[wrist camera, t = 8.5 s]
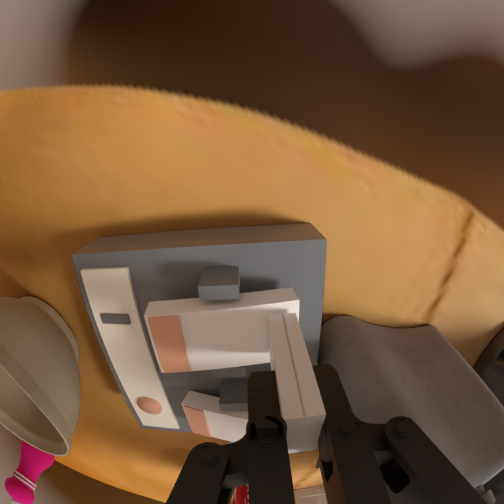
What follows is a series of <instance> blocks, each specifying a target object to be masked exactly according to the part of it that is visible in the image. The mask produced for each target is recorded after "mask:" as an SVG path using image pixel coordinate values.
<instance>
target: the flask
mask: <svg viewBox="0 0 504 504" xmlns="http://www.w3.org/2000/svg"><path fill="white" fill-rule="evenodd" d="M317 363H318V365H322V364H331V365H332V366H333V367H334V368H335V369H336V370H337V372H338V375H339V377H340V381H341V382H342V385H343V388H344V390H345V393H346V395H347V398H348V401H349V403H350V406H351V409H352V411H353V413H354V415H355V416H356V417H357V418H358V419H360V420H361V421H363V422H366V423H372V424H386V423H387V422H388V421H389V420H390V419H391V418H393V417H396V416H406V417H409V418H411V419H412V420H413V421H414V422H415V423H416V424H417V425H418V426H419V427H420V428H421V429H422V431H423V432H424V433H425V434H426V435H427V436H428V437H429V438H430V439H431V441H432V442H433V443H434V444H435V445H436V446H437V447H438V448H439V449H440V451H441V452H442V453H443V454H444V455H445V456H446V457H447V458H448V459H449V461H450V462H451V463H452V464H453V465H454V466H455V467H456V468H457V470H458V471H459V472H460V473H461V474H462V475H463V476H464V477H465V479H466V480H467V481H468V482H469V483H470V484H471V485H472V486H473V488H474V489H475V490H476V491H477V492H478V493H479V494H480V495H481V497H482V498H483V499H484V500H485V501H486V502H487V503H488V504H494V502H496V500H495V497H494V495H493V493H492V491H491V489H490V490H488V491H487V492H486V491H485V489H484V487H483V485H484V484H485V483H486V482H488V481H489V480H490V479H491V478H493V477H494V476H495V475H497V474H498V473H499V472H500V471H501V470H503V469H504V407H503V406H502V404H501V403H500V402H499V400H498V399H497V398H496V396H495V395H494V394H493V393H492V391H491V390H490V389H489V388H488V386H487V385H486V384H485V383H484V381H483V380H482V379H481V378H480V377H479V375H478V374H477V373H476V372H475V371H474V369H473V368H472V367H471V366H470V365H469V364H468V362H467V361H466V360H465V359H464V358H463V357H462V356H461V354H460V353H459V352H458V351H457V350H456V349H455V348H454V347H453V345H452V344H451V343H450V342H449V341H448V340H447V339H446V338H445V337H444V336H443V335H442V334H441V332H440V331H439V330H438V329H437V328H436V327H434V326H431V325H427V326H421V327H415V328H390V327H383V326H379V325H374V324H371V323H368V322H365V321H363V320H360V319H358V318H355V317H352V316H337V317H335V318H333V319H330V320H328V321H327V322H325V323H324V324H323V325H322V326H321V332H320V341H319V350H318V359H317ZM390 500H391V499H390ZM391 503H392V504H394V503H393V502H392V500H391Z"/></svg>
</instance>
